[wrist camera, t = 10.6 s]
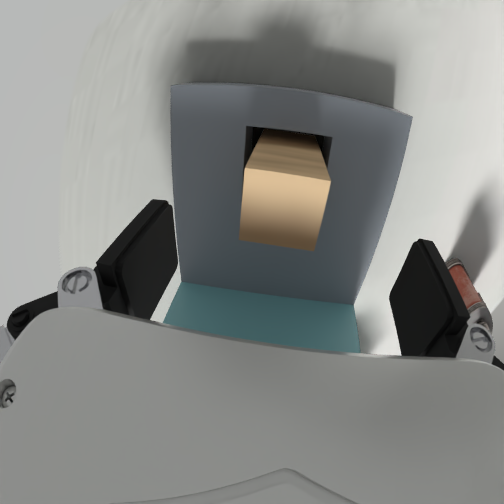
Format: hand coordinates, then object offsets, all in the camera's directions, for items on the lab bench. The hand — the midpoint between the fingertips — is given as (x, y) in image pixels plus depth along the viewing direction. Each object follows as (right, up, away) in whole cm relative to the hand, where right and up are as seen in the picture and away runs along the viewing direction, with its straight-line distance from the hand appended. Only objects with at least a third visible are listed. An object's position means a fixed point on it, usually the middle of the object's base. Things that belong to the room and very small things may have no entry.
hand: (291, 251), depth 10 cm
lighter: (+22, -3, +16) cm, 28 cm away
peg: (+1, +8, +11) cm, 14 cm away
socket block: (+1, +5, +13) cm, 14 cm away
